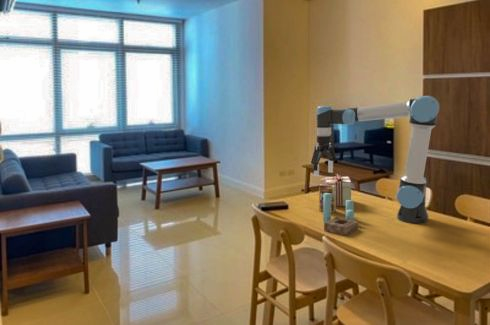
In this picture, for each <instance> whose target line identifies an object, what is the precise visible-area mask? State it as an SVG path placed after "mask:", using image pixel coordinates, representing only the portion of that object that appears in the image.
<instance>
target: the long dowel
mask: <svg viewBox="0 0 490 325" xmlns="http://www.w3.org/2000/svg"><path fill="white" fill-rule="evenodd" d="M322 215H323V218H322V219H323V221H322V222H323V223H325V222H327V221H329V220H331V219H332V212H331V193H324V196H323V211H322Z"/></svg>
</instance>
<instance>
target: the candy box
mask: <svg viewBox="0 0 490 325" xmlns="http://www.w3.org/2000/svg"><path fill="white" fill-rule="evenodd" d="M318 188H319V189H318V192H319V193H318V211H320V212H323V196H324V193H331V213H335V212H336V211H337V206H336V185H328V184H325V183H320V184H319V185H318Z"/></svg>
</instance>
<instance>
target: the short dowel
mask: <svg viewBox="0 0 490 325" xmlns="http://www.w3.org/2000/svg"><path fill="white" fill-rule="evenodd" d="M345 219H349V220H354V221H355V210H354V209H353V210H346V209H345Z"/></svg>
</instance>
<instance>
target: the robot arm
mask: <svg viewBox="0 0 490 325" xmlns="http://www.w3.org/2000/svg"><path fill="white" fill-rule="evenodd" d="M440 110H441V104H440V102H439V100H438V99H437V98H436V97H434V96H433V95H420V96H419V97H416V98H411V99H409V100H408V101H402V102H393V103H385V104H377V105H370V106H368V105H367V106H359V107H348V108H345V109H332V106H331V105H320V106H317V107H316V143H318V145H314V150H313V153H312V158H311V161H310V163H311V164H312V165H313V177H314V178H315V177H317V178H319V177H320V164H319V163H320V161H321V158H322V156H323V154H326V157H327V159H328V161H327V162H328V163H327V172H328V173H331V174H333V173H334V162H335V161H336V159H337V158H336V157H337V156H336V152H335V150H334V144H333V143H332V136H331V135H332V125H346V126H348V125H354V124H355V123H356V122H366V121H376V120H387V119H398V118H406V117H407V118H408V117H409V125H410V127H411V132H410V137H409V138H410V139H409V145H408V151H407V156H406V163H405V170H404V174H403V175H402V176H401V177H400V181H399V186H398V190H397V192H396V199H397V200H396V201H397V202H398V203H399V205H400V207H399V208H398V211H397V216H396V218H397V219H398V220H399V221H401V222H405V223H408V224H409V223H410V224H424V223H427V222H428V221H429V213H428V210H427V208H426V207H427V206H426V199H427V198H426V197H427V196H426V195H427V178H426V177H424V175H425V168H426V165H427V164H426V163H427V157H428V151H429V146H430V145H429V144H430V141H431V135H432V134H431V133H432V130H433V129H434V128H435V127H436V125H437V119H438V115H439V112H440Z"/></svg>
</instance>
